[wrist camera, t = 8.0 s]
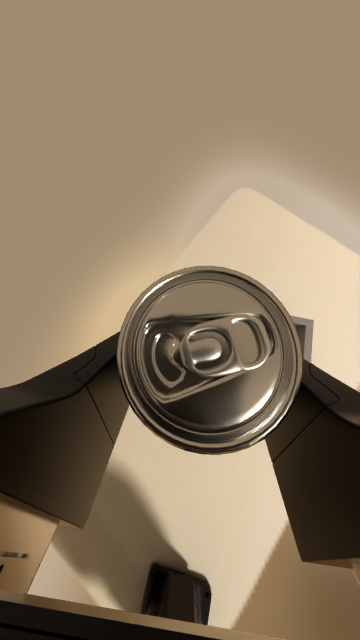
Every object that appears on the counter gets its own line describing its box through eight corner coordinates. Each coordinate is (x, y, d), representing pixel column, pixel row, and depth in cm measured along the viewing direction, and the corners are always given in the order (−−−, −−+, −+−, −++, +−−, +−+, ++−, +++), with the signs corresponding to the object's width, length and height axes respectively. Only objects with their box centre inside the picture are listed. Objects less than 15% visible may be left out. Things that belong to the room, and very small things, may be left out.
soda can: (161, 334, 16) (89, 275, 4) (209, 322, 16) (273, 233, 4) (171, 386, 15) (115, 507, 3) (224, 373, 15) (365, 445, 3)
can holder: (291, 383, 20) (309, 388, 17) (229, 368, 21) (236, 371, 18) (296, 324, 21) (313, 320, 19) (238, 312, 22) (246, 306, 19)
